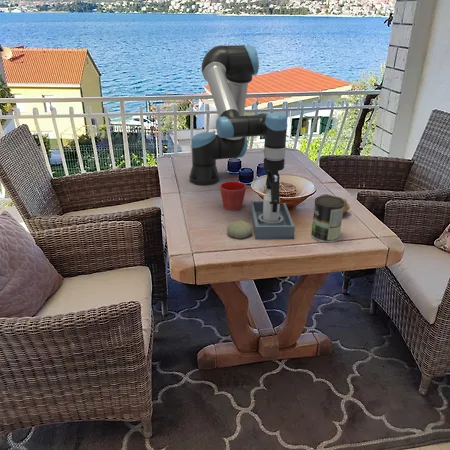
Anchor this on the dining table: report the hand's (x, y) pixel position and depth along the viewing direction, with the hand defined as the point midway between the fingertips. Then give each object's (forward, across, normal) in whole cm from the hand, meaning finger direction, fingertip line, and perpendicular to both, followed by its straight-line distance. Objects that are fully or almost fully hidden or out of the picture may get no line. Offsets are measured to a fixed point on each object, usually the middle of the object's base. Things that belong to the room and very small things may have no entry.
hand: (271, 211), depth 155 cm
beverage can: (+5, 0, 0) cm, 5 cm away
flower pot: (+6, -18, -14) cm, 24 cm away
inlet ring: (+5, 0, 0) cm, 5 cm away
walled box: (+5, 0, 0) cm, 5 cm away
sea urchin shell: (+6, +8, -12) cm, 16 cm away
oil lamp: (+6, -12, +27) cm, 30 cm away
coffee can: (+6, +10, +19) cm, 22 cm away
